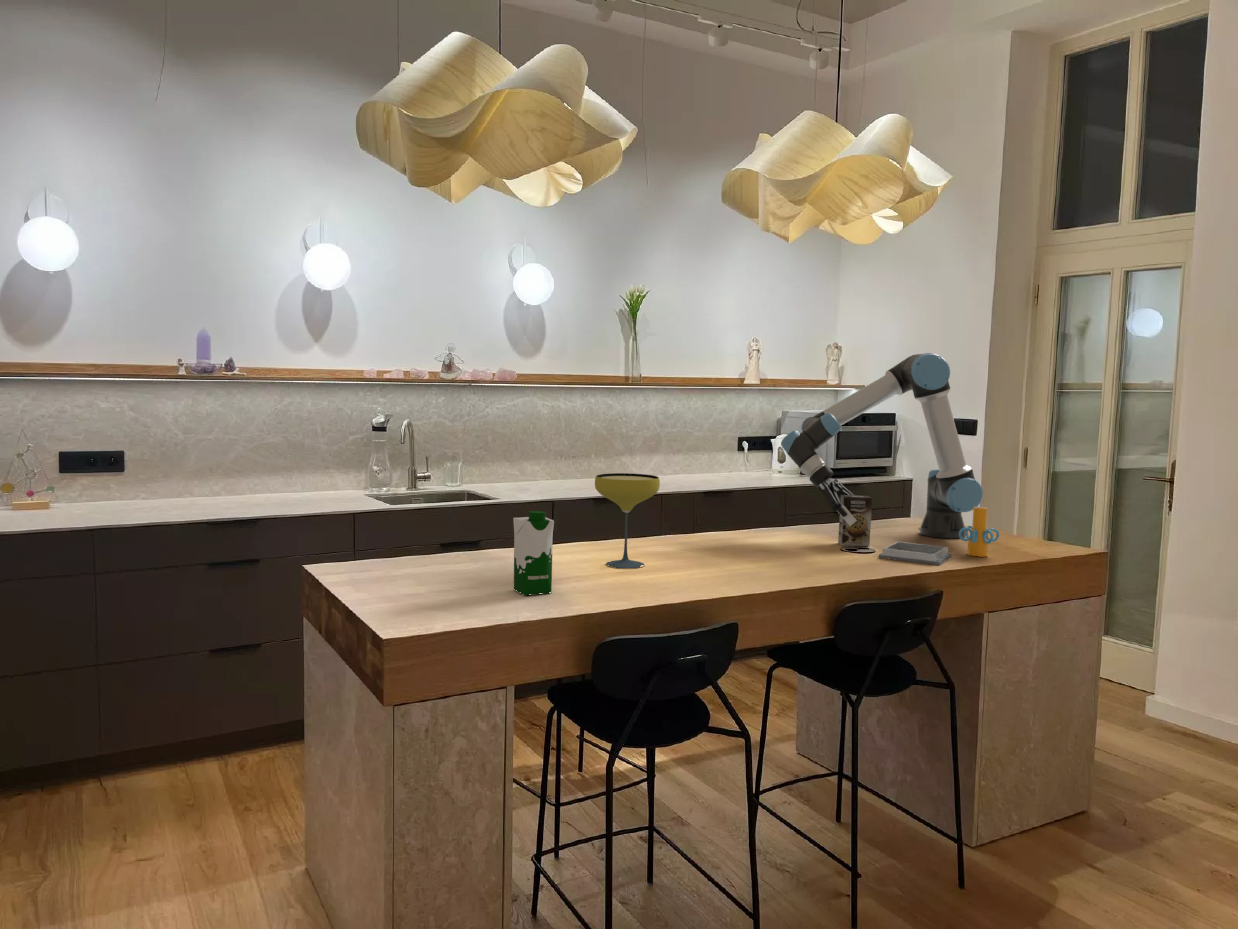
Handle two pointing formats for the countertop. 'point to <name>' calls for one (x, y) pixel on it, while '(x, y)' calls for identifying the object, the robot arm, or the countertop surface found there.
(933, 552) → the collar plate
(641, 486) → the cocktail glass
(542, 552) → the milk carton
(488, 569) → the countertop surface
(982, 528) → the yellow upright post
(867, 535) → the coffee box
